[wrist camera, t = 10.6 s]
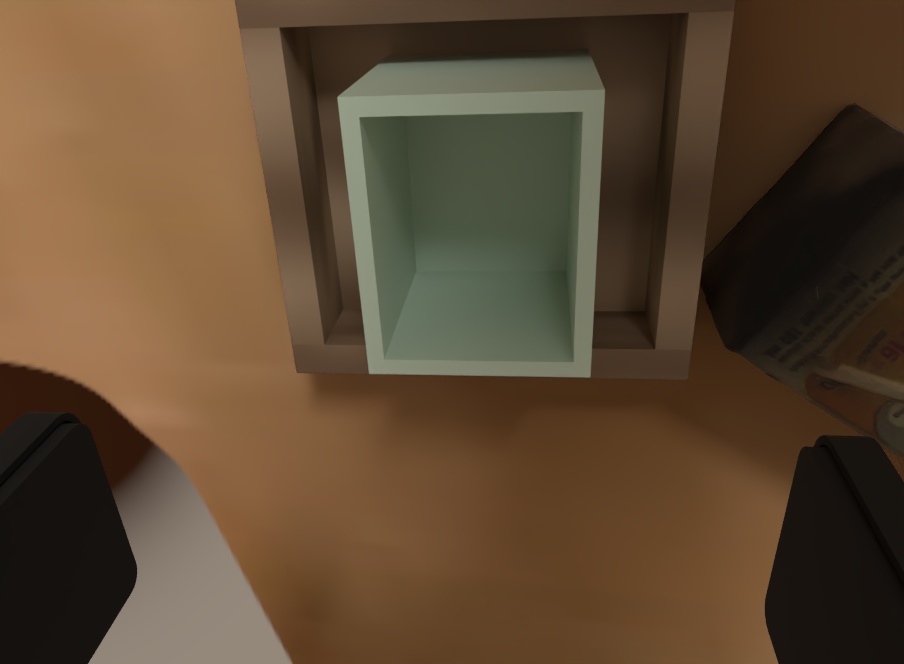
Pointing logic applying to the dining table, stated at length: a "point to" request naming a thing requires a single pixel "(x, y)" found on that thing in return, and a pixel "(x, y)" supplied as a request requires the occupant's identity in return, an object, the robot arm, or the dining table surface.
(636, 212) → the walnut crate
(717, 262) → the beverage carton
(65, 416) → the robot arm
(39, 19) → the dining table surface
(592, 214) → the small crate
